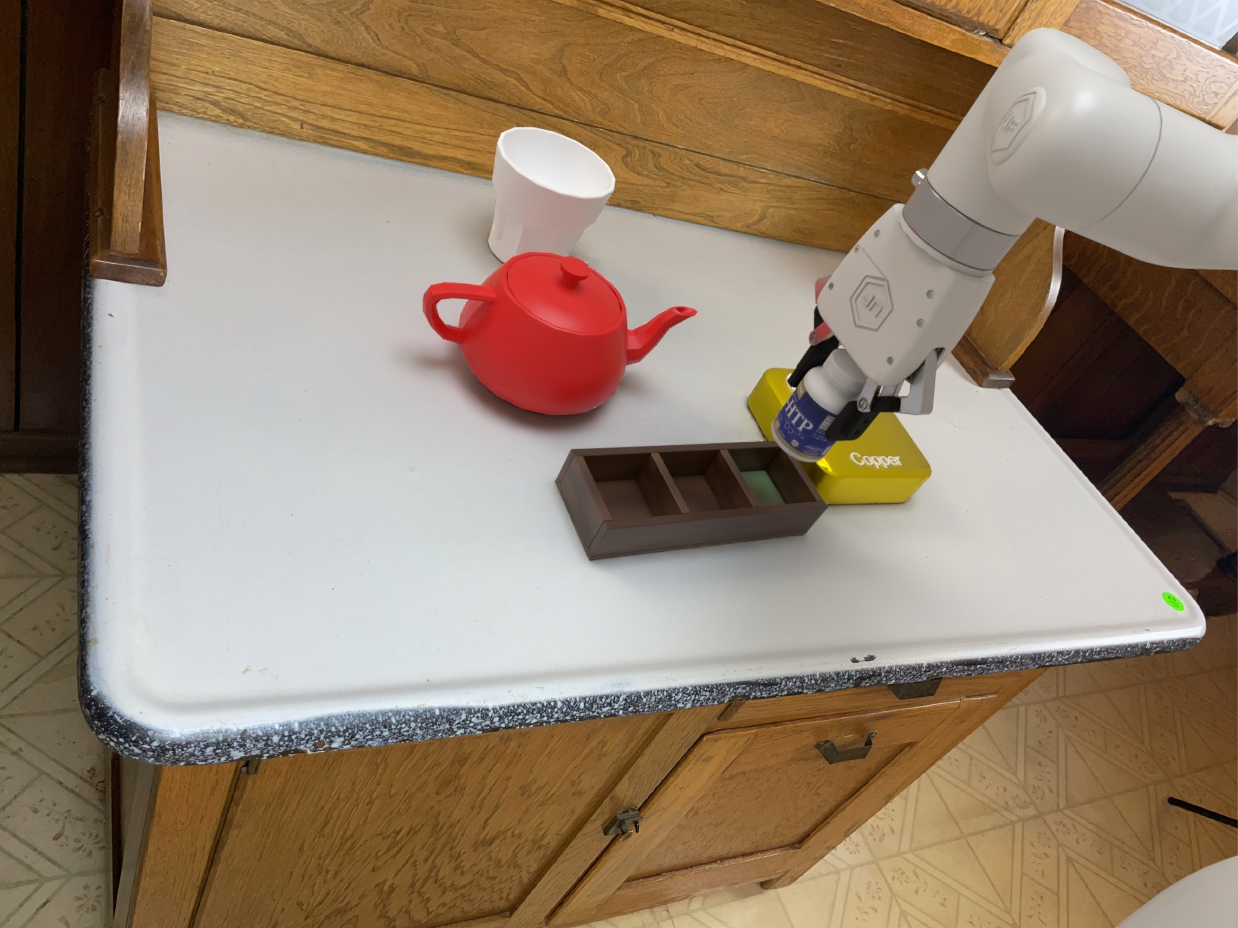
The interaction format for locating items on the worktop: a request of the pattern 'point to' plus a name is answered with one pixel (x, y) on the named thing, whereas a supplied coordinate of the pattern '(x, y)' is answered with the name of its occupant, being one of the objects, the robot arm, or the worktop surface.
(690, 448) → the rack
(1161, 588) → the worktop surface
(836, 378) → the pill bottle
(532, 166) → the cup
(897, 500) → the element tile
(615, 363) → the teapot
